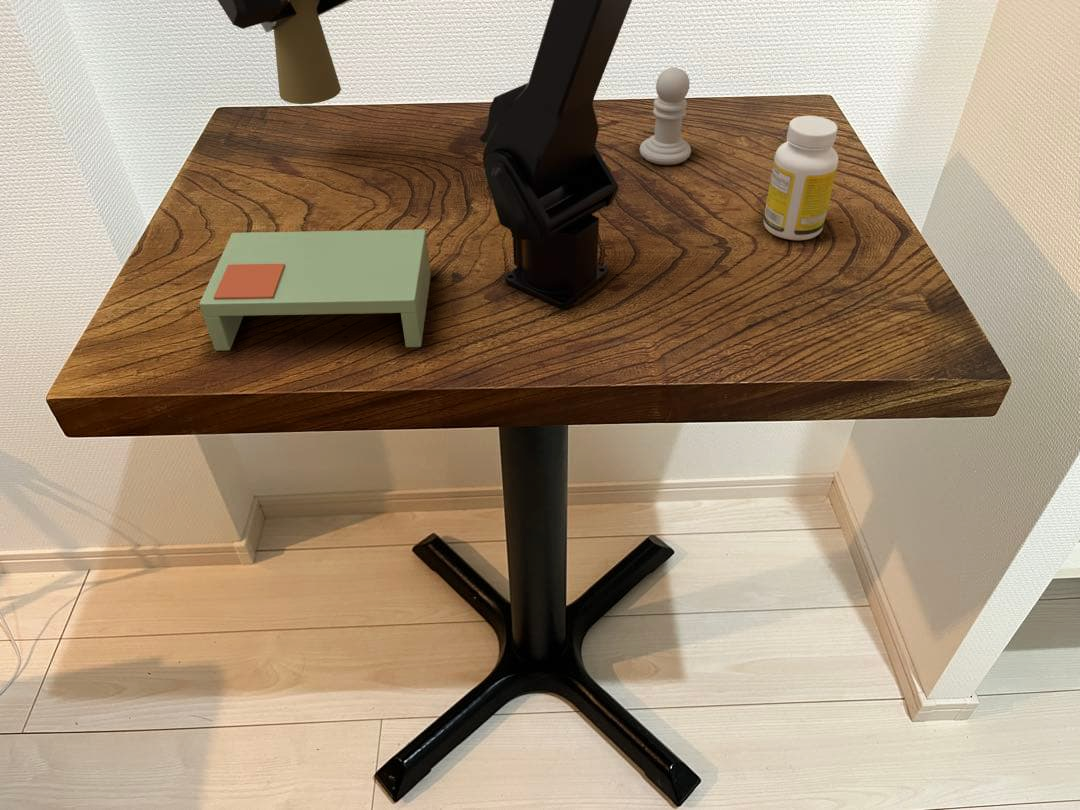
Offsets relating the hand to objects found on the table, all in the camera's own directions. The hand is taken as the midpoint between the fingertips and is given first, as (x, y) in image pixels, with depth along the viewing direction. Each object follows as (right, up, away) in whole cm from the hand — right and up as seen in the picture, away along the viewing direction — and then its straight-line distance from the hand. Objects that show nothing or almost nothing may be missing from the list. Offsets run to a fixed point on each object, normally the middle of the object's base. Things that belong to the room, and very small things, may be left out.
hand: (288, 20), depth 82 cm
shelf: (+7, -29, -12) cm, 32 cm away
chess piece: (+37, -11, +8) cm, 39 cm away
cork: (+1, -6, +4) cm, 7 cm away
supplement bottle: (+47, -20, -2) cm, 51 cm away
